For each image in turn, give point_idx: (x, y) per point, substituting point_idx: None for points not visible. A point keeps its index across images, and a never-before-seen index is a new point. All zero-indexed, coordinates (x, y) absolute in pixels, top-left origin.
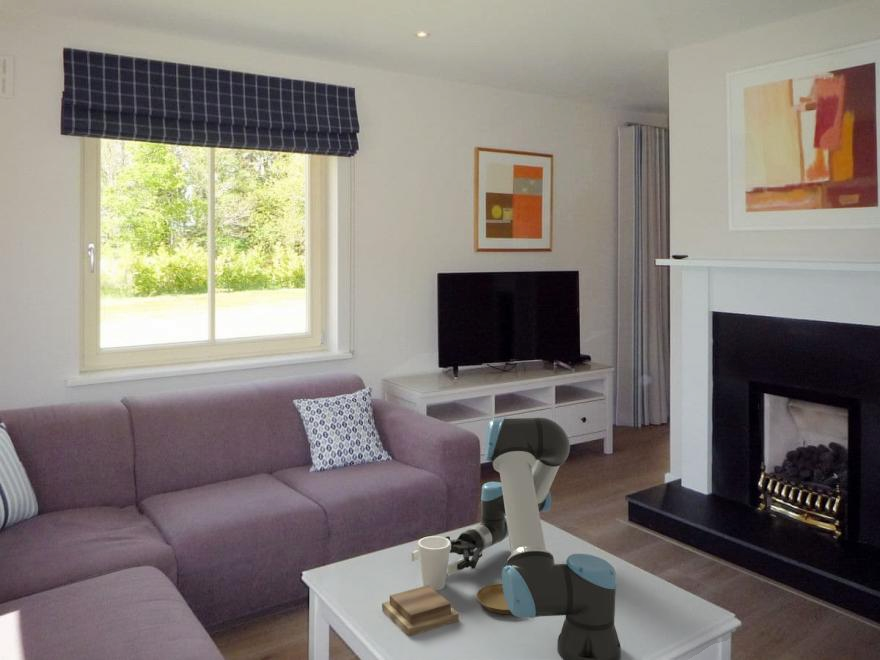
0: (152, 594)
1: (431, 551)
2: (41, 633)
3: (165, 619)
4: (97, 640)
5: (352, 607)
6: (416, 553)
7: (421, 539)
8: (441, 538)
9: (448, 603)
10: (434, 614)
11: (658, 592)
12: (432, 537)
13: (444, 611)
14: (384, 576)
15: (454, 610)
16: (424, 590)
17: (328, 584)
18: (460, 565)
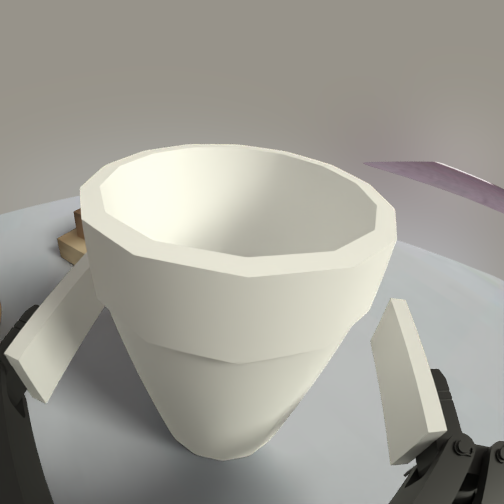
0: (495, 205)
1: (199, 159)
2: (455, 171)
3: (442, 184)
4: (429, 168)
5: None
6: (391, 327)
7: (374, 194)
8: (243, 267)
9: (80, 210)
10: None
11: None
12: (353, 244)
13: None
14: (434, 363)
15: (69, 244)
16: None
17: (456, 271)
18: (32, 308)
